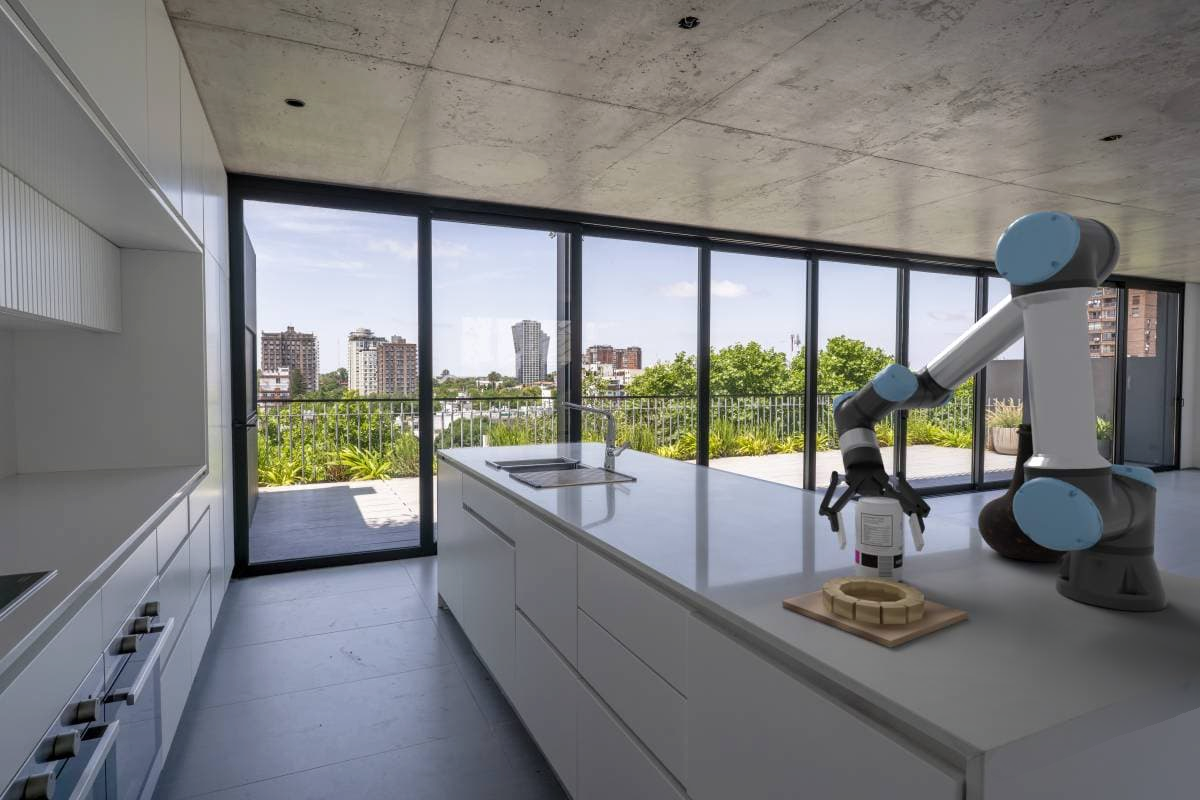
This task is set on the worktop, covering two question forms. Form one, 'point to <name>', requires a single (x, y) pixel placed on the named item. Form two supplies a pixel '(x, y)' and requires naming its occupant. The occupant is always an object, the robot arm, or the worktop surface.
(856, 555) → the supplement can
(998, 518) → the dark vase
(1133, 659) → the worktop surface
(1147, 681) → the worktop surface
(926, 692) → the worktop surface
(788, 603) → the hub seat
